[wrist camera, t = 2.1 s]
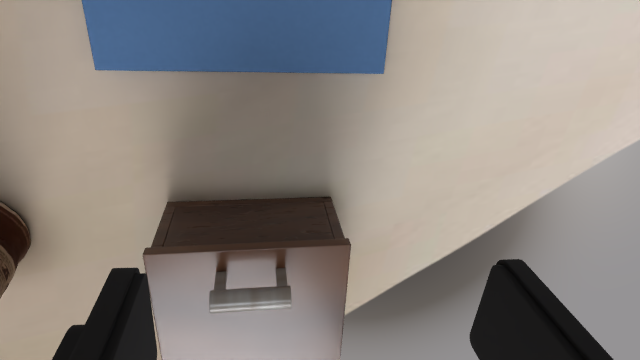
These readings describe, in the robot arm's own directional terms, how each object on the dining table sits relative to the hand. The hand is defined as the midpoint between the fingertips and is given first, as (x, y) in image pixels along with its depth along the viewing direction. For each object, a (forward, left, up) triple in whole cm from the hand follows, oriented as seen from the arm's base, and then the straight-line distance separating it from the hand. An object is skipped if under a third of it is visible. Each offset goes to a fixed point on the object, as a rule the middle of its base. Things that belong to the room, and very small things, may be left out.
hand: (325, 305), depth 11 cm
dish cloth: (-5, -2, -23) cm, 23 cm away
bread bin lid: (+14, -2, -15) cm, 21 cm away
